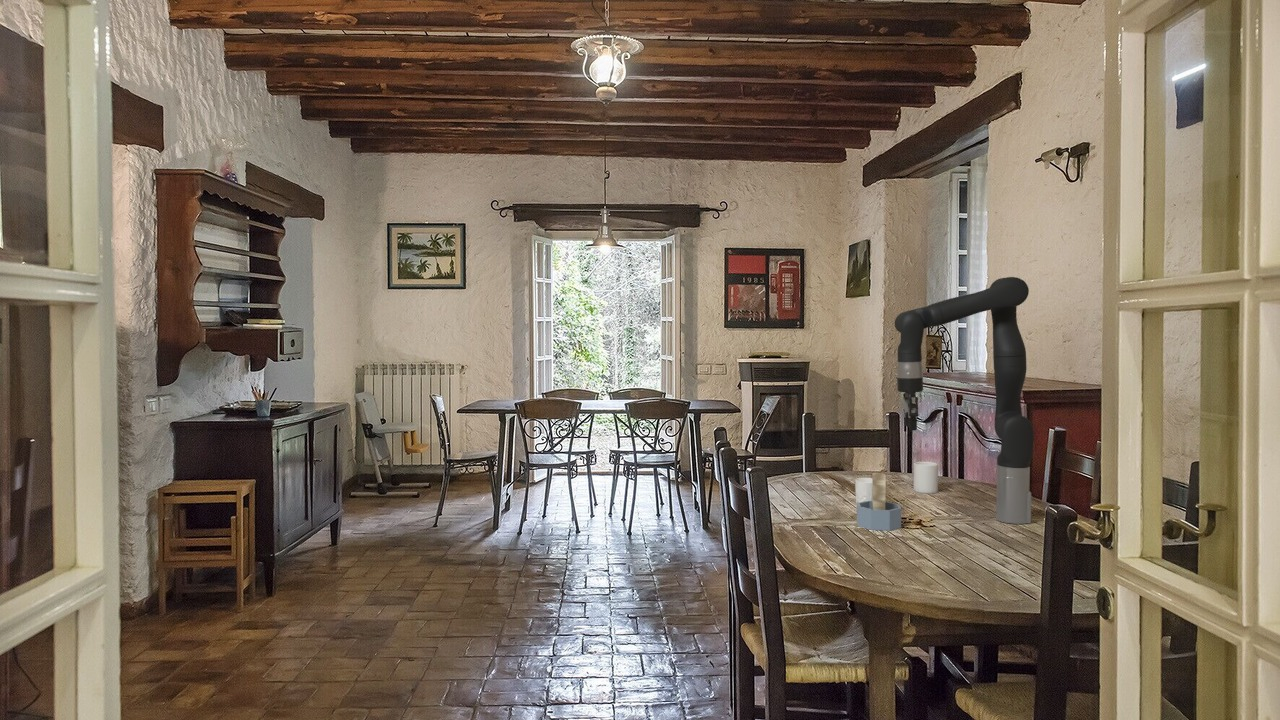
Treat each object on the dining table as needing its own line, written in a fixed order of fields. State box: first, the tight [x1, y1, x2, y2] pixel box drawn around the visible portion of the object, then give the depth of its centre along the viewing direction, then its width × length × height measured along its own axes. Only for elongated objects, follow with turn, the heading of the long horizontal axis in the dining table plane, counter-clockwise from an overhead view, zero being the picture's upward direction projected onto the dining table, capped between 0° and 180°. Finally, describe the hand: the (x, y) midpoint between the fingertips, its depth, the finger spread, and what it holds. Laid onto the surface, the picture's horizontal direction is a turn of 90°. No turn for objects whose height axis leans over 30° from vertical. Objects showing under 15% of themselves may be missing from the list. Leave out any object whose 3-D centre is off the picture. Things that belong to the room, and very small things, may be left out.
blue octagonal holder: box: [856, 500, 902, 532], centre depth 243 cm, size 13×13×6 cm
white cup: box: [854, 477, 872, 505], centre depth 262 cm, size 8×8×10 cm
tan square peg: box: [871, 472, 887, 510], centre depth 242 cm, size 4×4×15 cm
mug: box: [913, 461, 939, 495], centre depth 291 cm, size 12×8×10 cm
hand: (911, 428), depth 247 cm, fingers open, 8 cm apart
